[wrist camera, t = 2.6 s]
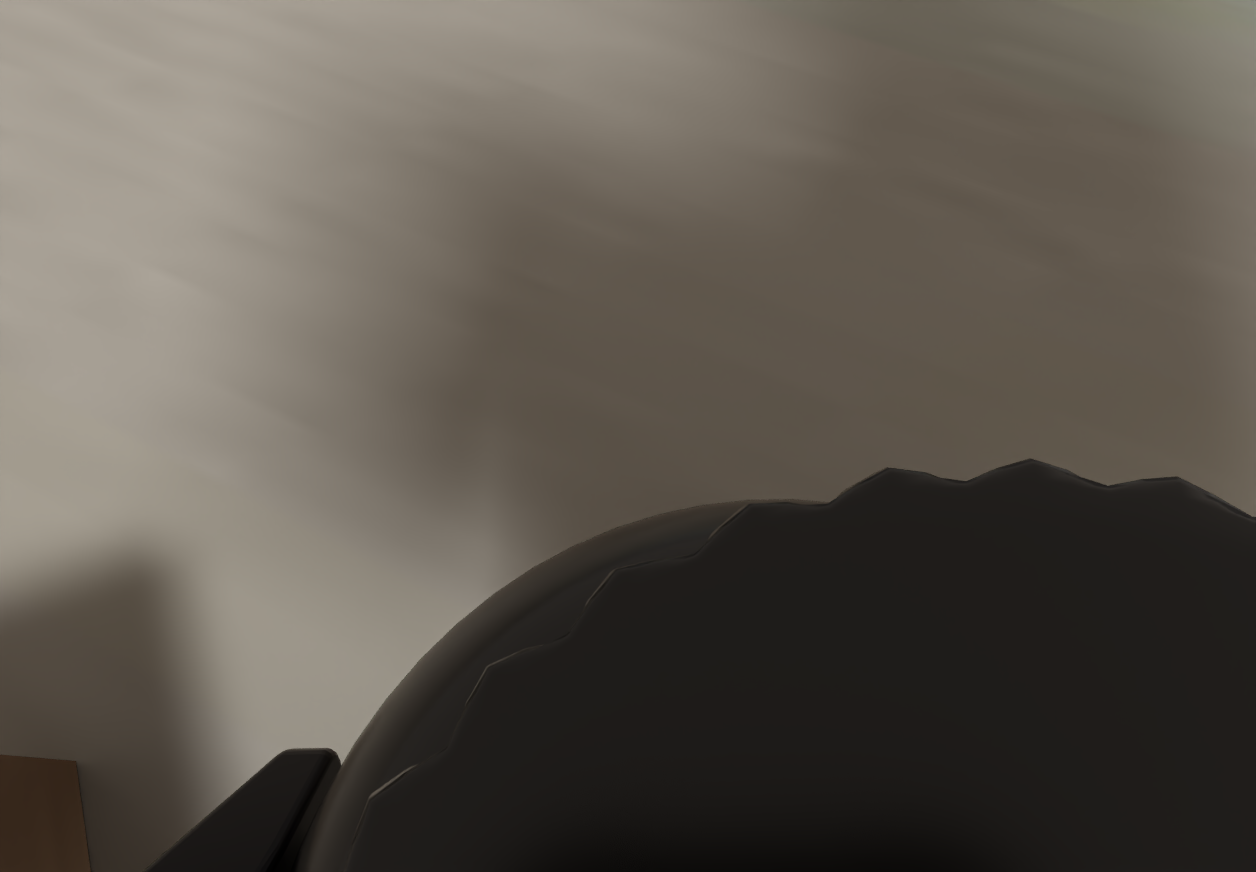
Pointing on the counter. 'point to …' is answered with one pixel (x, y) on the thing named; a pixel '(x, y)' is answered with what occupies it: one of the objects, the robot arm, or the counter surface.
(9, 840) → the walnut plinth
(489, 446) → the counter surface
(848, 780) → the supplement bottle
